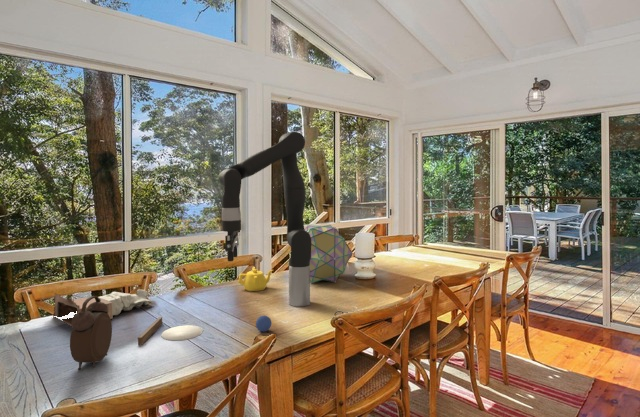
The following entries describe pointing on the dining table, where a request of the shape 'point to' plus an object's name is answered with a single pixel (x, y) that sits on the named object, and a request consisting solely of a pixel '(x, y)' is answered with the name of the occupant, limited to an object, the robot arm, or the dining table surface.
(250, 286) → the teapot
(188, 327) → the disc
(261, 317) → the ball
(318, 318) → the dining table surface
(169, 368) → the dining table surface
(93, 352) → the alarm clock
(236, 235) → the robot arm
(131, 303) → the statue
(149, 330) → the strip
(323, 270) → the sculpture
